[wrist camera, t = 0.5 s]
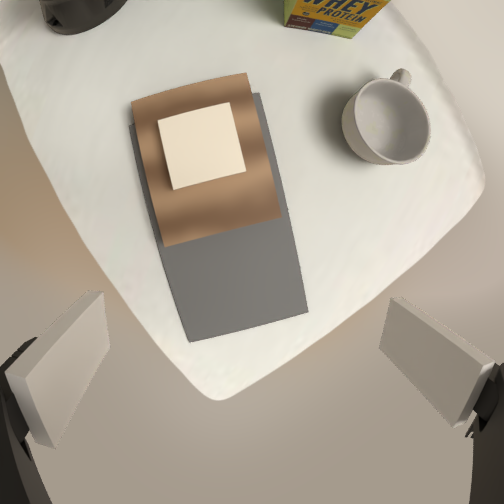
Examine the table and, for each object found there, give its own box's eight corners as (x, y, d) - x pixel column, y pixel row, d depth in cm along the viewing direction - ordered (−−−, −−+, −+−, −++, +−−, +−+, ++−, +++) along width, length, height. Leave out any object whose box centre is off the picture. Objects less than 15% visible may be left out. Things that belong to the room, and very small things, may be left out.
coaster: (160, 124, 31) (157, 120, 29) (228, 106, 32) (229, 102, 30) (175, 189, 33) (173, 189, 31) (244, 172, 33) (246, 171, 31)
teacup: (378, 182, 39) (410, 182, 31) (317, 135, 37) (340, 123, 29) (415, 112, 37) (448, 102, 29) (362, 66, 35) (388, 45, 27)
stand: (137, 108, 33) (131, 102, 30) (244, 81, 34) (246, 72, 31) (168, 242, 37) (164, 247, 34) (277, 215, 38) (281, 217, 35)
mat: (129, 126, 34) (129, 125, 33) (258, 93, 35) (259, 92, 34) (189, 341, 40) (189, 342, 40) (307, 311, 41) (308, 312, 41)
